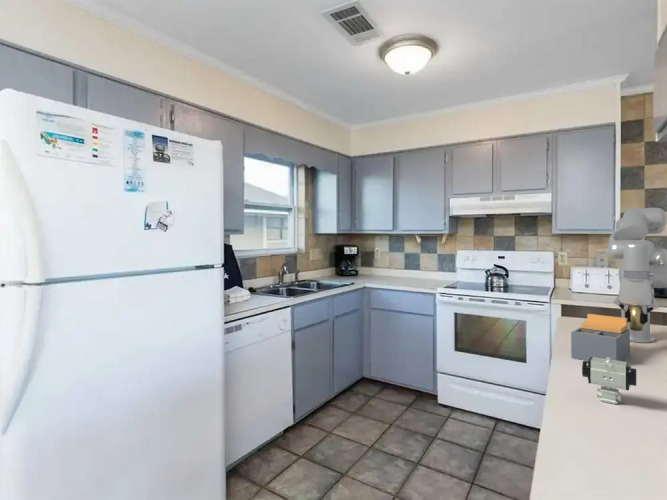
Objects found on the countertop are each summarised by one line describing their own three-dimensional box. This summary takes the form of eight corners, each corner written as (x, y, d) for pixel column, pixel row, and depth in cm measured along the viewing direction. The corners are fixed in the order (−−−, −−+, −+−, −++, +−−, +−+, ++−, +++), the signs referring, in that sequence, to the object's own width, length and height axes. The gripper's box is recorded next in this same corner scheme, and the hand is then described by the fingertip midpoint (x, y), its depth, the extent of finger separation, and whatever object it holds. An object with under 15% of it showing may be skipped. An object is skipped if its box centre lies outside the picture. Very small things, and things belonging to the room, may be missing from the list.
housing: (587, 347, 152) (587, 323, 152) (629, 355, 142) (629, 329, 142) (571, 357, 141) (571, 332, 141) (616, 366, 131) (616, 338, 130)
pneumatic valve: (584, 393, 110) (584, 351, 110) (636, 403, 103) (636, 359, 102) (581, 399, 106) (581, 356, 105) (635, 411, 98) (635, 364, 98)
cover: (588, 323, 151) (588, 313, 151) (627, 328, 142) (627, 318, 142) (580, 327, 145) (580, 317, 145) (620, 333, 136) (620, 322, 136)
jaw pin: (631, 327, 149) (630, 304, 148) (644, 329, 146) (644, 305, 145) (628, 329, 146) (628, 306, 146) (641, 331, 143) (641, 307, 143)
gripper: (667, 275, 141) (666, 324, 142) (612, 272, 153) (612, 317, 155) (662, 277, 136) (662, 328, 137) (606, 274, 148) (606, 321, 150)
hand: (636, 322), depth 146 cm, fingers closed on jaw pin, 4 cm apart
